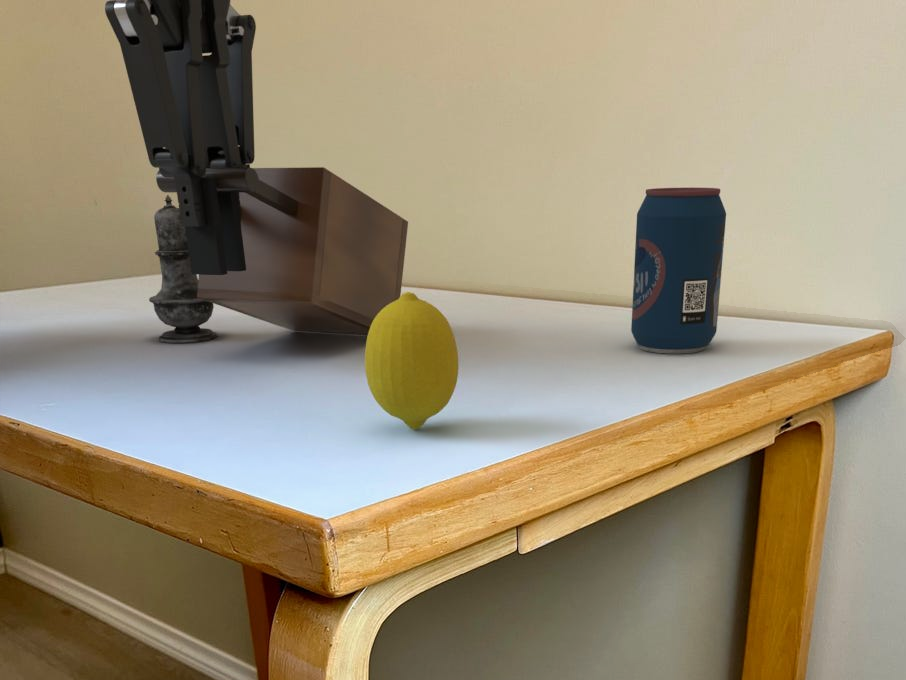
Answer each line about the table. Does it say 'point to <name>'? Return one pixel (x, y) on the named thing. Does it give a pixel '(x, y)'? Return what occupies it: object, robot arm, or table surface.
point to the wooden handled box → (308, 250)
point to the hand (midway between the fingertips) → (219, 271)
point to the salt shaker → (178, 283)
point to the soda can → (678, 269)
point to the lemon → (411, 360)
